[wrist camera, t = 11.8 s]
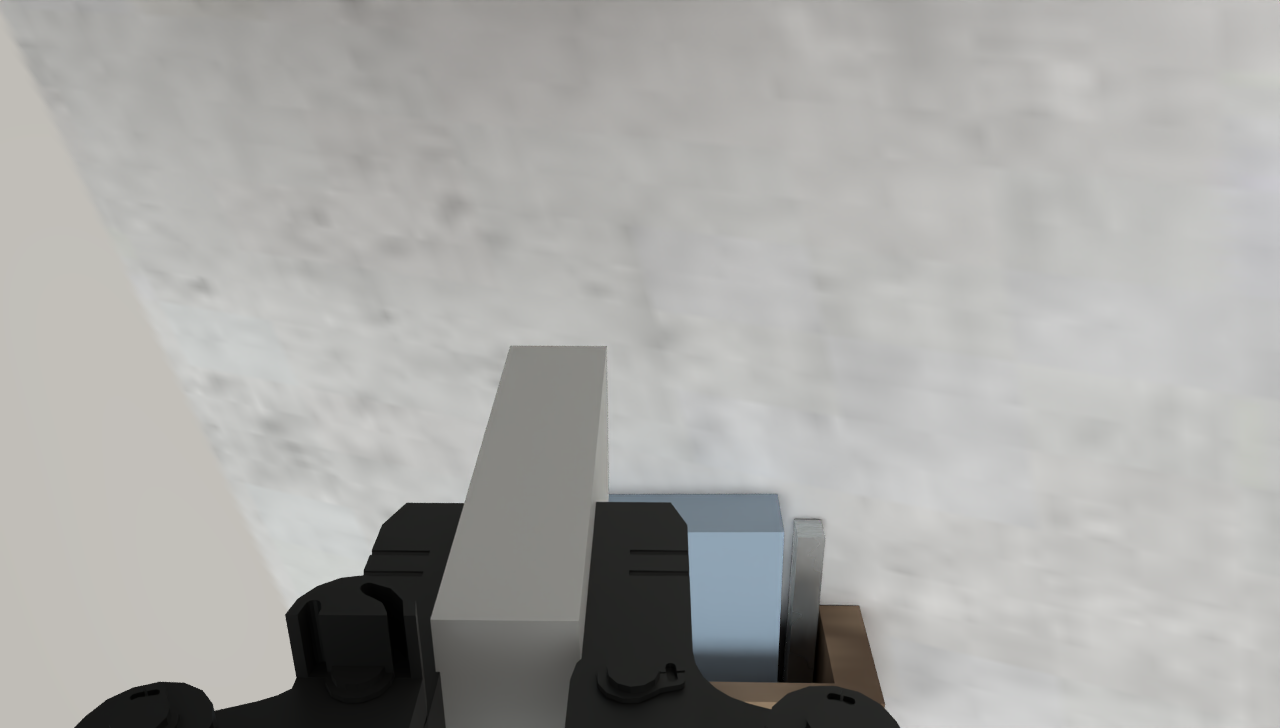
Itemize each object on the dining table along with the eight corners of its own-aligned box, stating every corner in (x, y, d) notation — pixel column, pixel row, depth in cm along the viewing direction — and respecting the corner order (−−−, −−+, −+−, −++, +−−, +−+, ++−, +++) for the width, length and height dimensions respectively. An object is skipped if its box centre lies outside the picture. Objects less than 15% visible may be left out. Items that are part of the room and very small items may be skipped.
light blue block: (528, 674, 45) (519, 725, 42) (514, 488, 41) (503, 532, 39) (768, 674, 45) (775, 726, 42) (776, 488, 41) (784, 532, 38)
